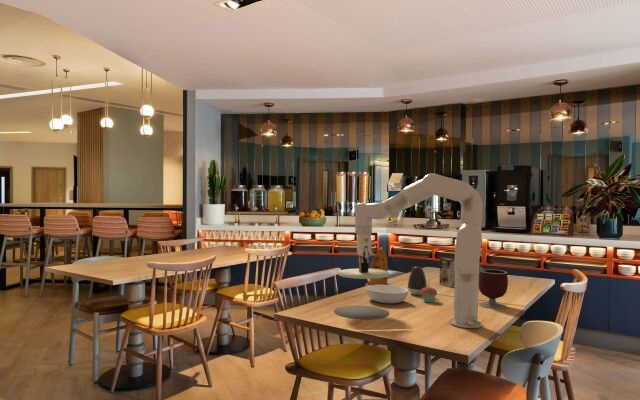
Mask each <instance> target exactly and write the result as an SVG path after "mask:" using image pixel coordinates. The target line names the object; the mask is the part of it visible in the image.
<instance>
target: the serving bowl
mask: <svg viewBox="0 0 640 400" xmlns="http://www.w3.org/2000/svg"><path fill="white" fill-rule="evenodd" d="M366 294H367V295H368V297H369V299H371V300H372V301H374V302H376V303H381V304H397V303H402V302H403V301H405V300H406V299H407V297H408V294H409V288H406V287H403V286H400V285H394V284H393V285H391V284H386V285H371V284H370V285H368V286H366Z"/></svg>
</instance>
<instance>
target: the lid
mask: <svg viewBox="0 0 640 400" xmlns="http://www.w3.org/2000/svg"><path fill="white" fill-rule="evenodd" d="M363 259H364V258H363ZM361 263H362V258H360V259H359V258H358V268H347V269H341V270H338V271H337V275H338V276H339V277H342V278H348V279H349V278H350V279H356V280H357V279H358V280H370V279H376V278H384V277H387V278H388V277H389V276H390V272H389V270H388V271H385V270H379V269H370V268H368V272H361Z"/></svg>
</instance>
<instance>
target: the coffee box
mask: <svg viewBox="0 0 640 400" xmlns="http://www.w3.org/2000/svg"><path fill="white" fill-rule="evenodd" d="M454 259H455V258H454ZM454 259H453V258H448V257H443V258H441V257H440V258H439V283H438V284H439V285H442V286H445V287H447V288H455V265H454Z"/></svg>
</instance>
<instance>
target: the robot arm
mask: <svg viewBox="0 0 640 400" xmlns="http://www.w3.org/2000/svg"><path fill="white" fill-rule="evenodd" d="M480 195H481V194H480V193H479V192H478V191H477V190H476V189H475V188H474V187H473V186H472V185H470V184H468V183H467V182H466V181H463V180H459V179H455V178H452V177H447V176H444V175H441V174H437V173H428V174H425V176H423V178H422V179H419V180H417V181H416V182H413V183H411V184H409V185H407V186H405V187H403V188H402V189H401V190H400V191H399V192H398V193H397V194H395V195H394V196H391V197H389V198H388V199H386V200H384V201H382V202H373V203H370V202H369V203H368V202H358V203H355V206H354V207H355V209H354V211H355V213H354V217H355V218H354V224H355V225H354V227H355V228H354V230H355V231H354V232H355V233H354V234H356V235H357V236H356V237H357V238H356V253H357V255H358V260H359V259H360V258H362V263H361V272H368V269H369V257H372V255H373V249H372V245H373V244H372V235H371V234H373V220H377V221H379V220H380V221H381V220H385V219H388V218H390V217H392V216H394V215H395V214H398V213H399V212H402V211H404V210H406V209H408V208H411V207H413V206H415V205H418V203H420V202H423V201H426V200H427V199H429V198H431V197H433V196H437V197H440V198H445V199H448V200H451V201H455V202H459V203H460V206H461V207H460V221H459V228H458V230H457V233H456V241H455V250H454V265H455V287H454V294H453V295H454V299H453V318H451V319H450V320H449V323H450V325H452V326H455V327H458V328H461V329H462V328H463V329H477V328H481V327H482V322H481V321H479V320H478V318H479V316H478V314H479V272H480V271H479V270H480V268H479V266H480V259H481V258H480V257H481V249H482V239H483V237H482V235H483V234H482V221H483V200H482V197H481V196H480ZM363 258H364V259H363Z"/></svg>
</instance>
